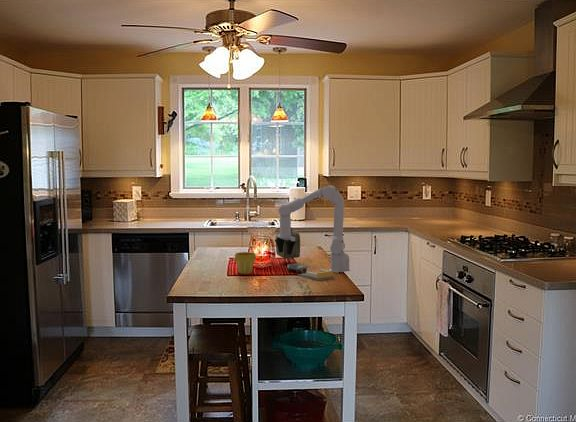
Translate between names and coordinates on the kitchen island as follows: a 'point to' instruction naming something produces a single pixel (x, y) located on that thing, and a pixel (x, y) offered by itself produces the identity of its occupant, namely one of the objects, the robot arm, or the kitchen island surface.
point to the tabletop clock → (295, 249)
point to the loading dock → (318, 275)
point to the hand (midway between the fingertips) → (285, 253)
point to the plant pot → (245, 262)
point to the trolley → (296, 267)
